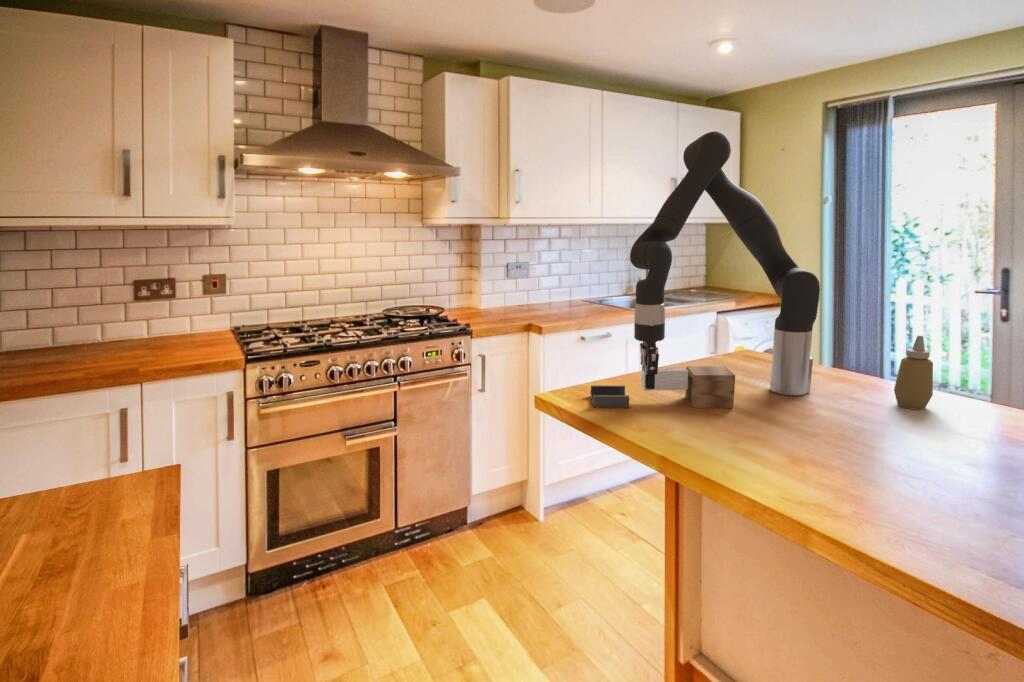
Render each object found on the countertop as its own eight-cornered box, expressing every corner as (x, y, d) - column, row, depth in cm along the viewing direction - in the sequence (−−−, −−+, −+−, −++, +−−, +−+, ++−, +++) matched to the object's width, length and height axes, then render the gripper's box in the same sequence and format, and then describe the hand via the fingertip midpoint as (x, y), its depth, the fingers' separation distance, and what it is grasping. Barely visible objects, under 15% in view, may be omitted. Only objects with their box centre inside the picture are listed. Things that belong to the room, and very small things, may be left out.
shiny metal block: (683, 385, 159) (684, 366, 158) (687, 389, 155) (688, 370, 154) (641, 386, 159) (641, 367, 158) (644, 390, 155) (644, 371, 154)
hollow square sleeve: (723, 397, 162) (725, 366, 160) (733, 408, 153) (735, 375, 151) (685, 397, 162) (686, 366, 160) (692, 407, 153) (694, 375, 152)
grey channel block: (624, 396, 164) (624, 385, 163) (629, 408, 154) (629, 396, 153) (590, 396, 164) (590, 385, 164) (593, 407, 155) (593, 396, 154)
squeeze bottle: (936, 412, 147) (946, 339, 144) (900, 410, 149) (908, 338, 145) (921, 402, 155) (931, 333, 151) (887, 400, 157) (895, 332, 153)
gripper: (630, 316, 161) (630, 379, 164) (638, 326, 147) (638, 394, 150) (659, 315, 160) (658, 378, 164) (670, 325, 147) (668, 394, 150)
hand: (648, 385), depth 157 cm, fingers closed on shiny metal block, 4 cm apart
